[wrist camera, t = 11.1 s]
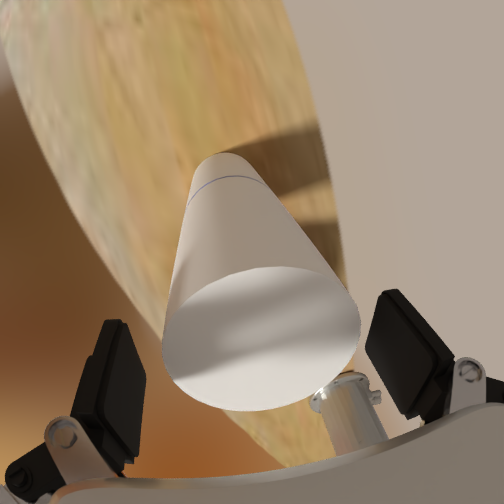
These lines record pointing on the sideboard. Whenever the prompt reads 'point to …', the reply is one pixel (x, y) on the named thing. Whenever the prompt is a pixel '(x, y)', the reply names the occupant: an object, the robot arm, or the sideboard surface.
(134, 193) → the sideboard surface
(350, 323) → the cylindrical container
